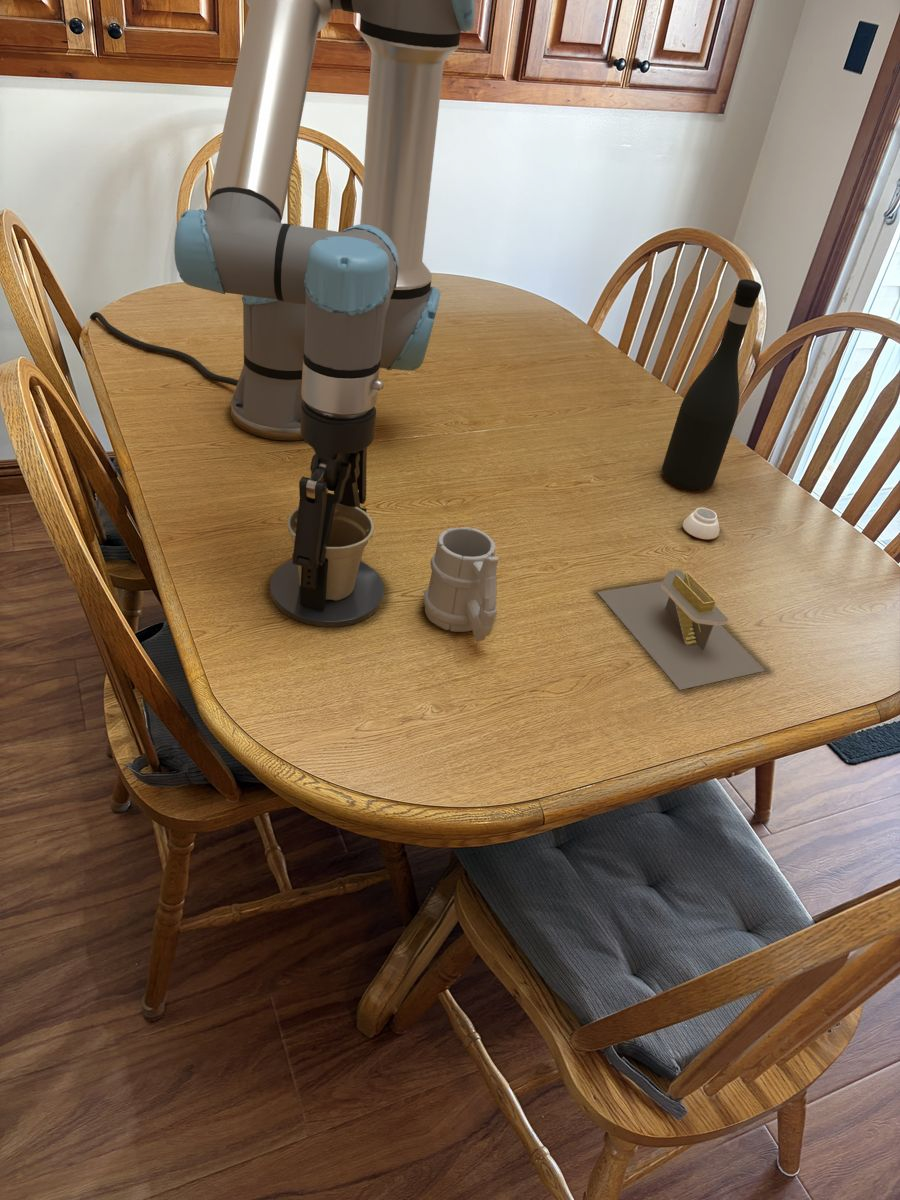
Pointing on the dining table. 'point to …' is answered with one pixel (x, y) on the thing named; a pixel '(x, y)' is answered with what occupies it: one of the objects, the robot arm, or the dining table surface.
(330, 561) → the flower pot
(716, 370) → the wine bottle
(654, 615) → the platform
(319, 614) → the coaster
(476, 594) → the mug
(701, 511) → the small white bowl
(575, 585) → the dining table surface
